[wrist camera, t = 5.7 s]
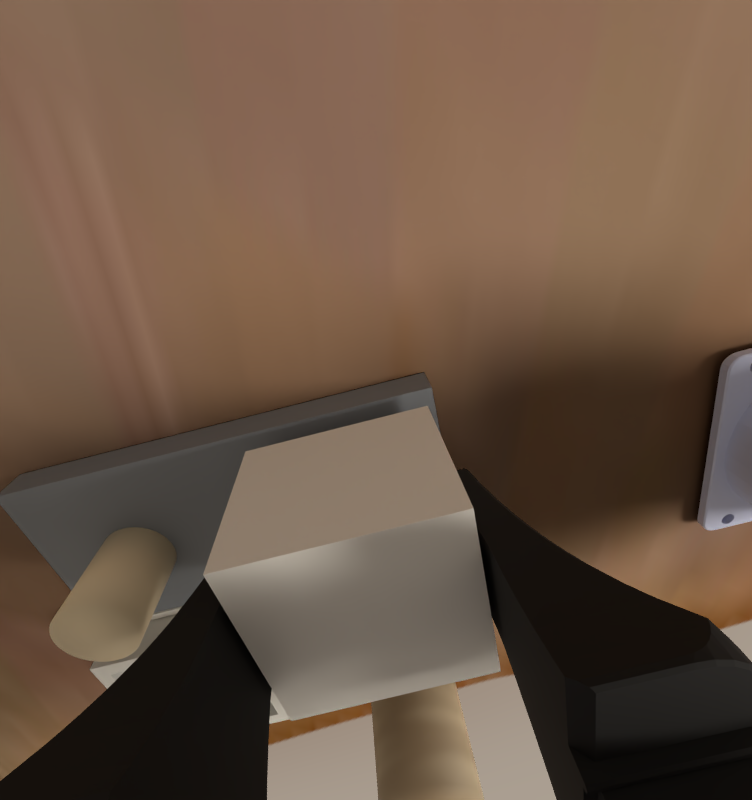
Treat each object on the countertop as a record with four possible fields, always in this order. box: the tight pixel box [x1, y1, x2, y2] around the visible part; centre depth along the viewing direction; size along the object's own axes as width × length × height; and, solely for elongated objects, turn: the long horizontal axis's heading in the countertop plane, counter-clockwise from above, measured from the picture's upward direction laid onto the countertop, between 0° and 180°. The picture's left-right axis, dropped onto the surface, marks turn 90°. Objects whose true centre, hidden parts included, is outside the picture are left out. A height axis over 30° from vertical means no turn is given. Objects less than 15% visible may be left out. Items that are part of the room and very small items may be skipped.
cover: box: [203, 406, 501, 721], centre depth 11 cm, size 5×5×4 cm
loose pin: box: [371, 682, 484, 800], centre depth 15 cm, size 3×3×6 cm
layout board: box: [0, 372, 441, 724], centre depth 15 cm, size 14×13×4 cm
